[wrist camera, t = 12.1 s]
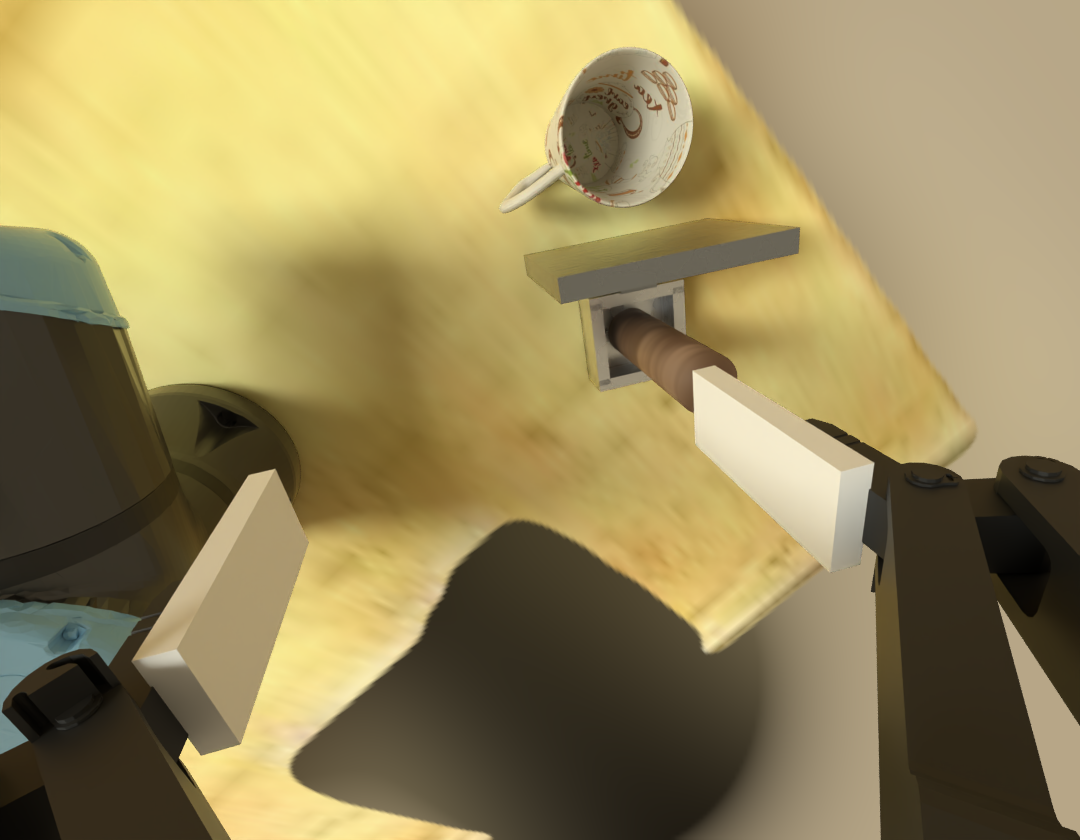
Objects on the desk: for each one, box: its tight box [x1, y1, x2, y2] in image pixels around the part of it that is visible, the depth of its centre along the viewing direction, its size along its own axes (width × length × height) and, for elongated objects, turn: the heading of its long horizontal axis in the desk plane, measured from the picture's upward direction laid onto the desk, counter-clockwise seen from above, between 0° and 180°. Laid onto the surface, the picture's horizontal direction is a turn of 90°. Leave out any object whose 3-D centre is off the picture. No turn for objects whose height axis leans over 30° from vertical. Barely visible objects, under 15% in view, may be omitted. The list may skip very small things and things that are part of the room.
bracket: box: [524, 218, 800, 392], centre depth 40 cm, size 16×12×12 cm
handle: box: [608, 308, 737, 413], centre depth 39 cm, size 4×4×14 cm
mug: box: [499, 47, 693, 213], centre depth 35 cm, size 8×13×10 cm, turn 126°
